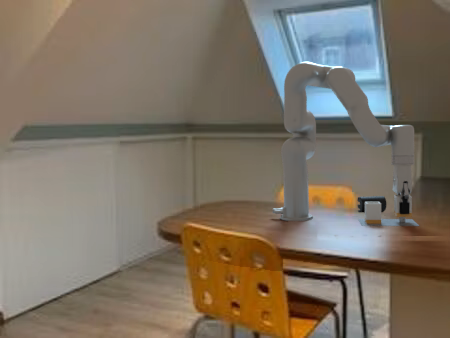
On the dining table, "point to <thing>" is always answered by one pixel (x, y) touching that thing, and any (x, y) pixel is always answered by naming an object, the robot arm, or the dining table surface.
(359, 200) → the end cap
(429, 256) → the dining table surface
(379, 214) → the seated sleeve
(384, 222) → the pin board
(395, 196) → the sleeve
